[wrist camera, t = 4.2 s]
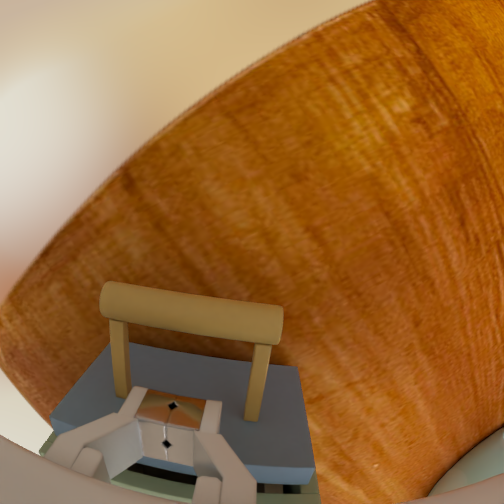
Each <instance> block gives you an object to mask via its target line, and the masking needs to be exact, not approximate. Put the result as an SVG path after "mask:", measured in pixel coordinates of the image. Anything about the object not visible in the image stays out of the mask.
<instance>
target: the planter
mask: <svg viewBox="0 0 504 504" xmlns="http://www.w3.org/2000/svg"><path fill="white" fill-rule="evenodd" d="M502 473H504V427H503V428H501V429H499V430H498V431H496V432H495V433H493V434H492V435H490V436H489V437H488V438H486V439H485V440H484V441H482V442H481V443H480V444H478V445H477V446H476V447H475V448H473V449H472V450H471V451H470V452H468V453H467V454H466V455H465V456H464V457H463V458H462V459H460V460H459V461H458V462H457V463H456V464H455V465H454V466H453V467H452V468H451V469H450V470H449V471H448V472H447V473H446V474H445V475H444V476H443V477H442V478H441V479H440V480H439V481H438V483H437V484H436V485H435V486H434V488H433V489H432V490H431V492H430V493H429V495H428V497H429V496H433V495H437V494H441V493H444V492H448V491H451V490H455V489H458V488H461V487H465V486H468V485H471V484H474V483H477V482H479V481H482V480H485V479H488V478H490V477H493V476H496V475H499V474H502Z"/></svg>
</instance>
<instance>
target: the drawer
mask: <svg viewBox="0 0 504 504" xmlns="http://www.w3.org/2000/svg"><path fill="white" fill-rule="evenodd" d="M99 307H100V312H101V314H102V315H103V316H104V317H106V318H110V319H109V328H110V343H109V344H108V345H107V347H106V348H105V349H104V350H103V351H102V352H101V354H100V355H99V356H98V357H97V358H96V359H95V361H94V362H93V363H92V364H91V365H90V367H89V368H88V369H87V370H86V371H85V373H84V374H83V375H82V376H81V377H80V379H79V380H78V381H77V382H76V383H75V385H74V386H73V387H72V388H71V390H70V391H69V392H68V393H67V394H66V396H65V397H64V398H63V399H62V401H61V402H60V403H59V404H58V406H57V407H56V408H55V409H54V411H53V412H52V413H51V414H50V416H49V418H50V421H51V424H52V427H53V430H54V433H55V435H56V436H58V435H60V434H62V433H65V432H67V431H70V430H72V429H75V428H77V427H80V426H82V425H85V424H87V423H90V422H92V421H95V420H97V419H99V418H102V417H104V416H106V415H109V414H111V413H113V412H114V413H118V412H119V410H120V408H121V407H122V405H123V403H124V401H125V400H126V398H127V396H128V395H129V393H130V391H131V389H132V388H133V387H134V386H140V387H144V388H148V389H153V390H158V391H162V392H167V393H171V394H176V395H181V396H187V397H193V398H199V399H205V400H207V399H208V400H216V401H222V412H221V421H220V431H219V434H221V435H222V436H223V437H224V439H225V440H226V441H227V443H228V444H229V446H230V447H231V448H232V450H233V451H234V452H235V454H236V455H237V456H238V458H239V459H240V460H241V462H242V463H243V464H244V466H245V467H246V468H247V469H248V471H249V472H250V473H251V475H252V476H253V477H254V478H255V480H256V481H257V493H276V494H283V484H292V485H307V484H308V483H309V481H310V479H311V477H312V475H313V472H314V470H315V468H316V467H315V462H314V456H313V450H312V444H311V438H310V433H309V427H308V421H307V416H306V410H305V405H304V399H303V394H302V389H301V383H300V378H299V372H298V367H294V366H283V365H272V364H269V360H270V355H271V349H272V344H273V345H277V344H278V343H279V341H280V339H281V334H282V328H283V318H284V311H283V307H282V306H280V305H272V304H263V303H255V302H247V301H239V300H232V299H224V298H217V297H210V296H203V295H196V294H189V293H182V292H176V291H169V290H163V289H157V288H151V287H145V286H139V285H133V284H127V283H121V282H115V281H108V282H106V283H105V284H104V286H103V288H102V290H101V294H100V300H99ZM128 322H130V323H135V324H140V325H145V326H150V327H156V328H161V329H167V330H173V331H178V332H184V333H191V334H197V335H203V336H210V337H217V338H224V339H232V340H239V341H247V342H255V344H254V350H253V357H252V362H245V361H237V360H230V359H222V358H215V357H208V356H202V355H196V354H189V353H184V352H178V351H172V350H167V349H161V348H156V347H151V346H146V345H141V344H136V343H132V342H129V335H128ZM126 470H129V471H133V472H137V473H140V474H144V475H148V476H152V477H157V478H161V479H166V480H170V481H175V482H180V483H186V484H191V485H196V480H197V478H198V476H197V474H196V472H195V470H194V468H193V466H188V465H183V464H178V463H174V462H169V461H164V460H159V459H154V458H150V457H145V456H143V458H141V459H140V460H138V461H137V462H136V463H134V464H133V465H131V466H130V467H128V468H127V469H126Z"/></svg>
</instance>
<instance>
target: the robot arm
mask: <svg viewBox="0 0 504 504" xmlns="http://www.w3.org/2000/svg"><path fill="white" fill-rule="evenodd" d="M221 412H222V401H216V400H208V399H207V400H205V399H199V398H193V397H187V396H181V395H176V394H171V393H167V392H162V391H158V390H153V389H148V388H144V387H140V386H134V387H133V388H132V389H131V391H130V393H129V395H128V396H127V398H126V400H125V401H124V403H123V405H122V407H121V408H120V410H119V412H118V413H114V412H113V413H111V414H109V415H106V416H104V417H102V418H99V419H97V420H95V421H92V422H90V423H87V424H85V425H82V426H80V427H77V428H75V429H72V430H70V431H67V432H65V433H62V434H60V435H58V437H57V438H56V440H55V441H54V442H53V444H52V445H51V447H50V448H49V449H48V451H47V452H46V454H45V455H44V456H43V457H42V456H39V455H37V454H35V453H33V452H31V451H29V450H27V449H25V448H23V447H22V446H19V445H18V444H16V443H14V442H12V441H10V440H8V439H6V438H5V437H3V436H1V435H0V504H256V496H257V481H256V480H255V478H254V477H253V476H252V475H251V473H250V472H249V471H248V469H247V468H246V467H245V466H244V464H243V463H242V462H241V460H240V459H239V458H238V456H237V455H236V454H235V452H234V451H233V450H232V448H231V447H230V446H229V444H228V443H227V441H226V440H225V439H224V437H223V436H222V435H221V434H219V431H220V421H221ZM143 456H145V457H150V458H154V459H159V460H164V461H169V462H174V463H178V464H183V465H188V466H193V468H194V470H195V472H196V474H197V476H198V478H197V480H196V485H195V489H194V494H193V498H192V503H186V502H180V501H175V500H170V499H166V498H161V497H157V496H153V495H149V494H145V493H141V492H137V491H133V490H130V489H126V488H123V487H120V486H116V485H113V484H111V481H110V480H111V479H112V478H114V477H115V476H117V475H118V474H120V473H121V472H123V471H124V470H125V469H127V468H128V467H130V466H131V465H133V464H134V463H136V462H137V461H138V460H140V459H141V458H143ZM395 504H504V473H502V474H499V475H496V476H493V477H490V478H488V479H485V480H482V481H479V482H477V483H474V484H471V485H468V486H465V487H461V488H458V489H455V490H451V491H448V492H444V493H441V494H437V495H433V496H429V497H425V498H420V499H416V500H411V501H406V502H401V503H395Z"/></svg>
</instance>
